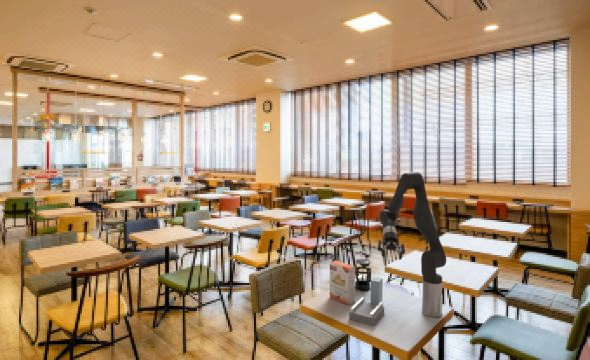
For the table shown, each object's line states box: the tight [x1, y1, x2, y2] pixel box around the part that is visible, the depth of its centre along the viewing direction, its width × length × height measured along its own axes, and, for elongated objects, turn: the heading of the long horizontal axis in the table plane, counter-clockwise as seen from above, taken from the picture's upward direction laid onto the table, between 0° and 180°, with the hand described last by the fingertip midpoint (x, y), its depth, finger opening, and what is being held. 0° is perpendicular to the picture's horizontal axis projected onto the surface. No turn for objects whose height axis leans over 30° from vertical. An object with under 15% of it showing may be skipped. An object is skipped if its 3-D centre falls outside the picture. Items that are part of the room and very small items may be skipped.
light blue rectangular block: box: [369, 276, 383, 305], centre depth 189 cm, size 4×6×15 cm
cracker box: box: [329, 260, 356, 306], centre depth 196 cm, size 14×6×21 cm, turn 42°
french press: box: [355, 250, 372, 292], centre depth 212 cm, size 12×9×23 cm
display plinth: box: [348, 297, 385, 327], centre depth 177 cm, size 13×15×6 cm
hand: (392, 257), depth 185 cm, fingers open, 8 cm apart
